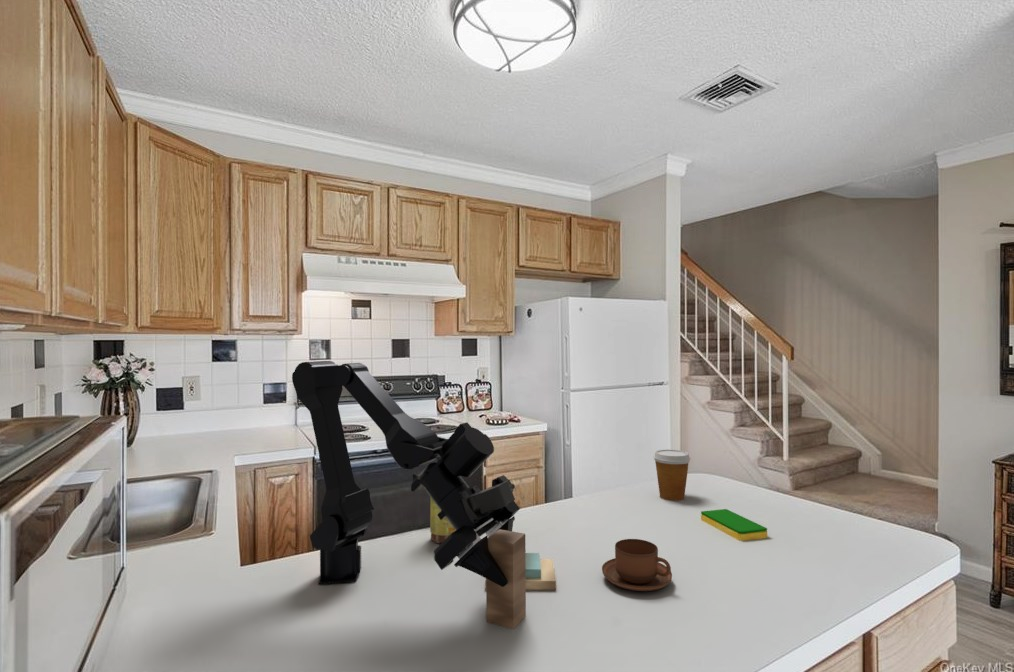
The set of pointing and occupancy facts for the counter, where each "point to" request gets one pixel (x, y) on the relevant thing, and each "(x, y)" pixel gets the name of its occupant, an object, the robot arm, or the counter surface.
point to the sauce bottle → (439, 523)
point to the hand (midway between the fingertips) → (514, 576)
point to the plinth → (545, 577)
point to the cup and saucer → (637, 566)
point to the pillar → (511, 599)
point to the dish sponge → (734, 524)
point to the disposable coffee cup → (671, 473)
